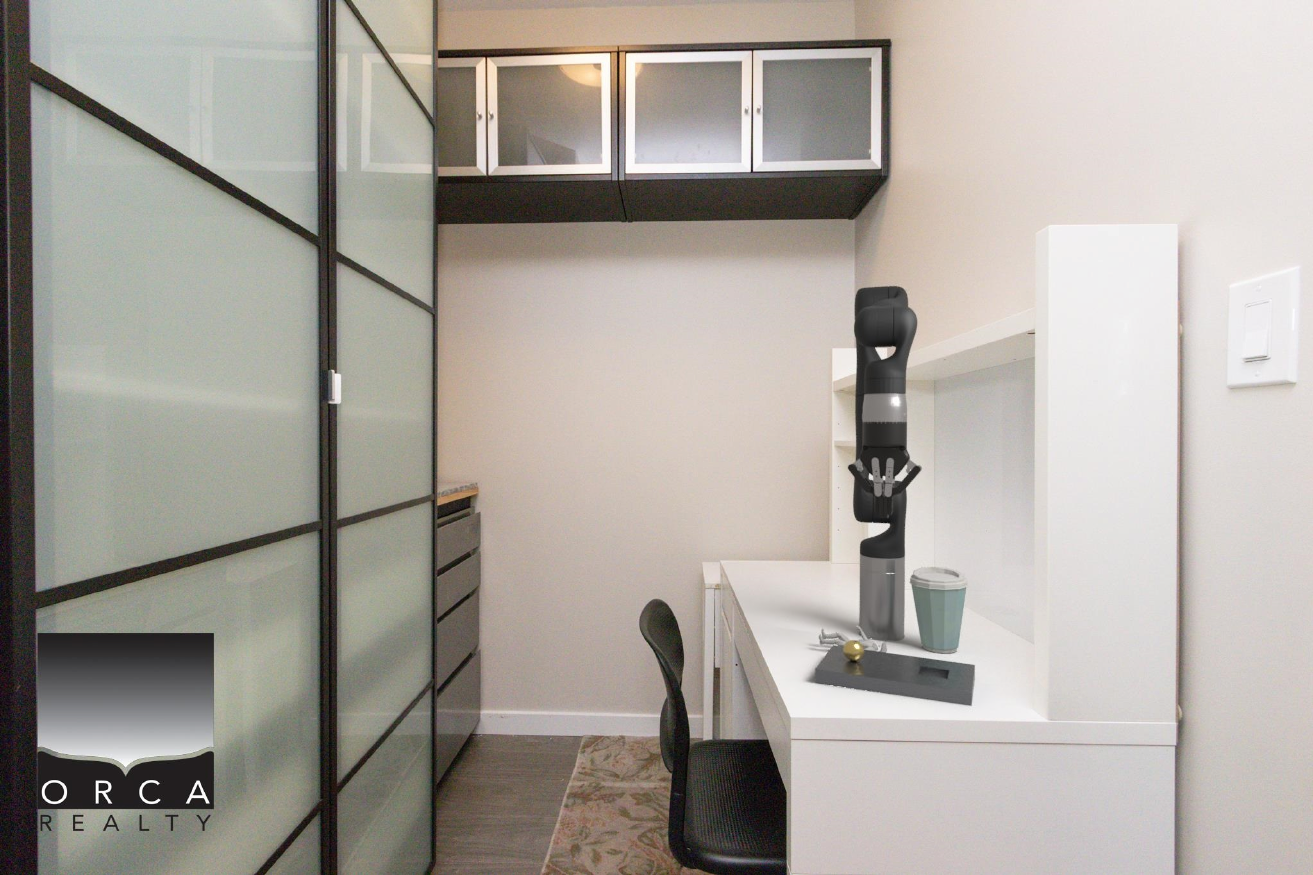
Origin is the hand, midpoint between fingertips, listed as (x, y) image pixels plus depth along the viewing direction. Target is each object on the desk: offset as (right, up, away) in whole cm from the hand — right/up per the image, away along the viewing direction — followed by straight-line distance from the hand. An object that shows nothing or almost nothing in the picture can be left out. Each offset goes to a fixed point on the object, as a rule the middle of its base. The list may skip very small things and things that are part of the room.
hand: (883, 517), depth 126 cm
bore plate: (0, -27, -6) cm, 28 cm away
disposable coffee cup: (+14, -27, +11) cm, 33 cm away
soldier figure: (-8, -26, +12) cm, 29 cm away
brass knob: (-6, -23, -3) cm, 24 cm away
